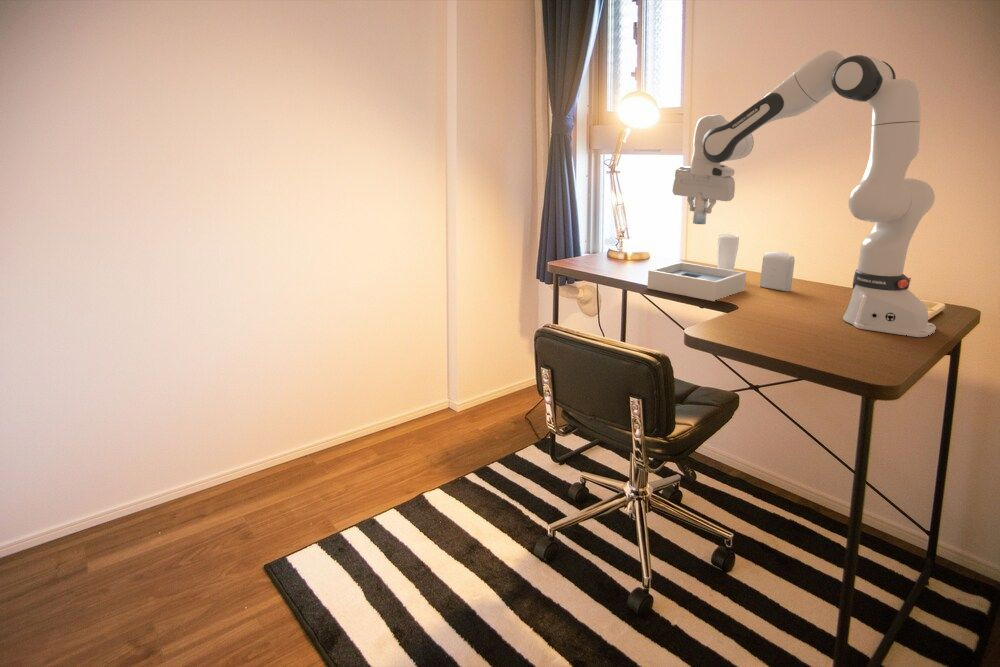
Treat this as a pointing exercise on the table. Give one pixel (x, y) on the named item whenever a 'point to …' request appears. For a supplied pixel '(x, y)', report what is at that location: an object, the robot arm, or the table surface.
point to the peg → (700, 209)
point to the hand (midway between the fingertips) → (700, 212)
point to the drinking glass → (727, 251)
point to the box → (696, 280)
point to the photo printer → (777, 270)
